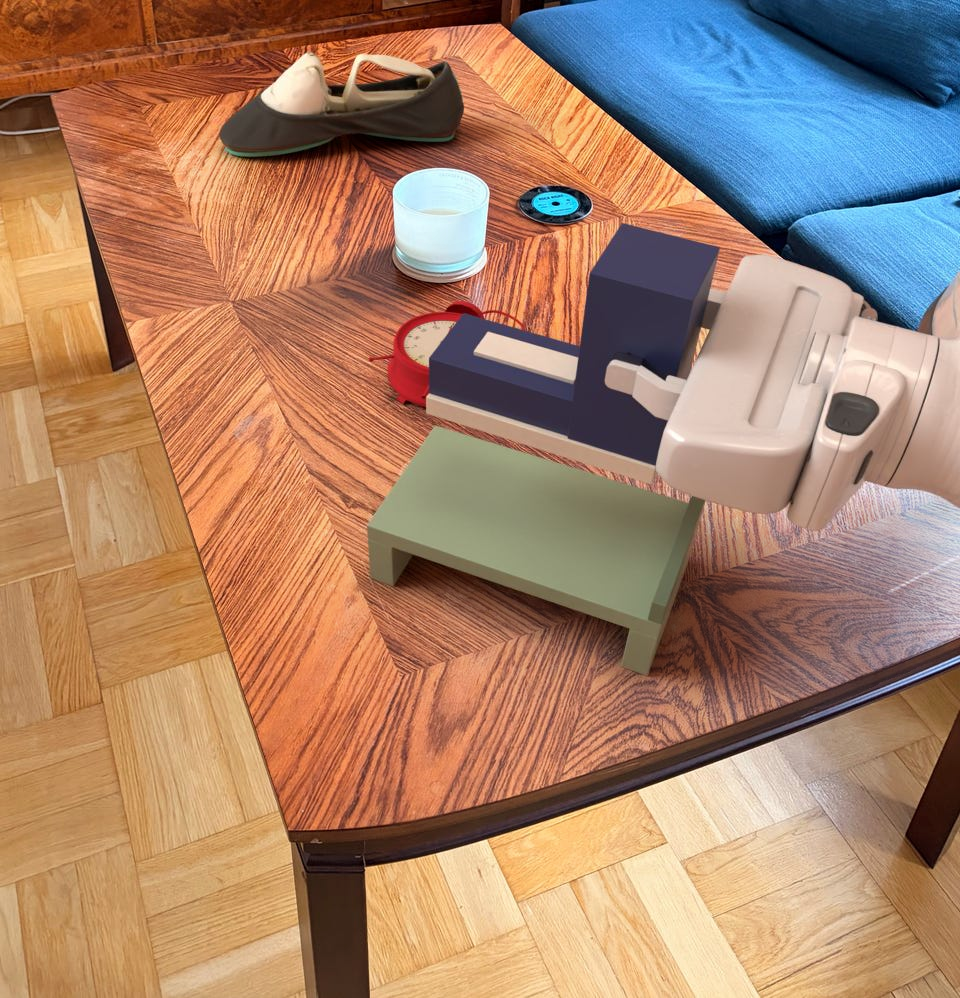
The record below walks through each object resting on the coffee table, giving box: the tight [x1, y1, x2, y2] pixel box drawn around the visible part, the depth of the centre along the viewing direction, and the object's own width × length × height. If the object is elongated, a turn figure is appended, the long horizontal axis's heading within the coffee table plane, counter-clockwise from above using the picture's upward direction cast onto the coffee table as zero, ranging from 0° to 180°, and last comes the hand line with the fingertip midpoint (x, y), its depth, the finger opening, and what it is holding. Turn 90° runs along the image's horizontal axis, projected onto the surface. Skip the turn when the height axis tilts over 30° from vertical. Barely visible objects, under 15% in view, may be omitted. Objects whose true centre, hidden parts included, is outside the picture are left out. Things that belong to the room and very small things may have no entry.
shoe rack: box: [366, 425, 707, 677], centre depth 75 cm, size 22×12×8 cm, turn 67°
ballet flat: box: [218, 51, 465, 158], centre depth 123 cm, size 10×30×10 cm, turn 106°
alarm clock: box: [368, 300, 526, 408], centre depth 93 cm, size 10×6×15 cm
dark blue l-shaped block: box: [425, 222, 721, 485], centre depth 63 cm, size 16×6×14 cm, turn 67°
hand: (627, 334), depth 61 cm, fingers closed on dark blue l-shaped block, 6 cm apart
